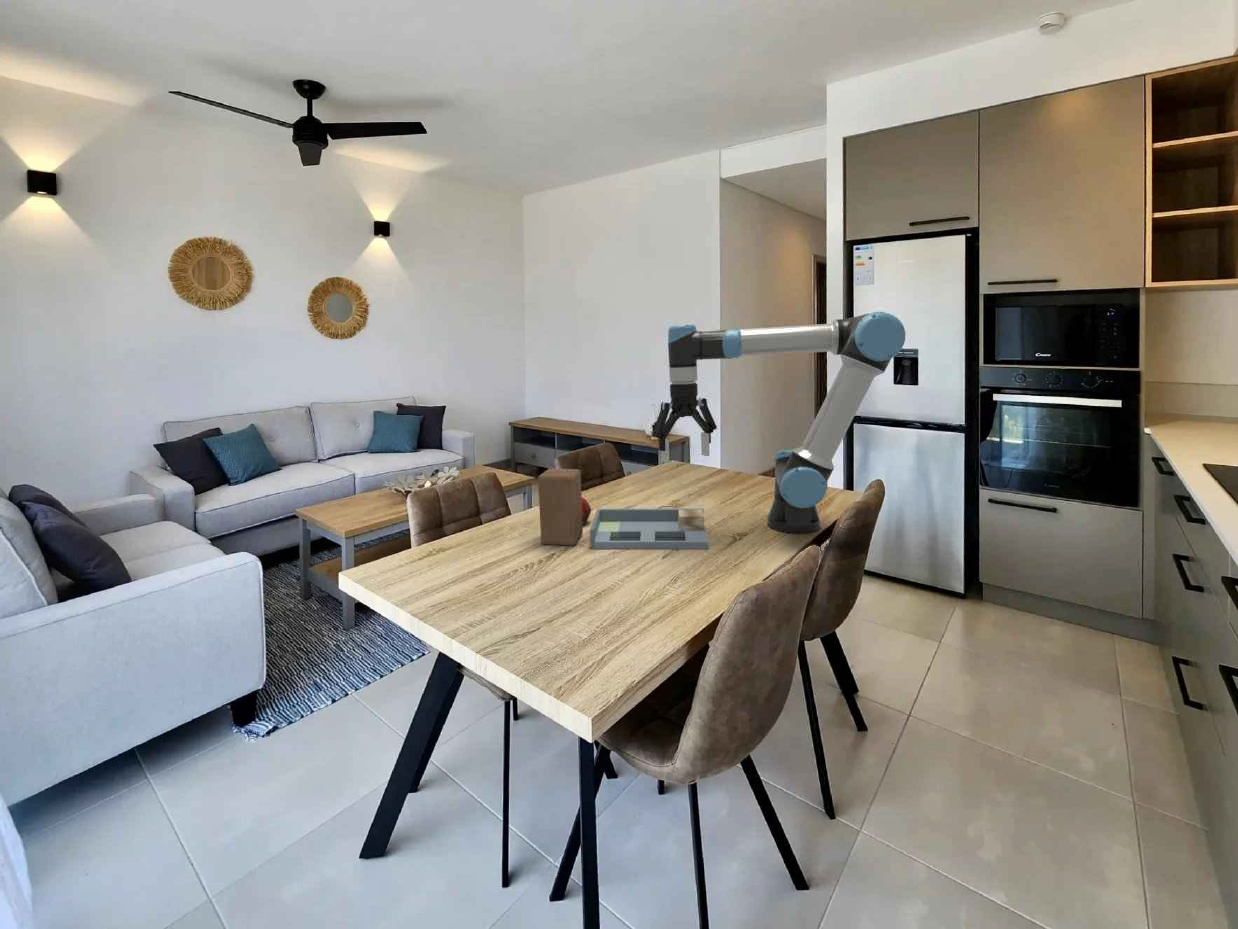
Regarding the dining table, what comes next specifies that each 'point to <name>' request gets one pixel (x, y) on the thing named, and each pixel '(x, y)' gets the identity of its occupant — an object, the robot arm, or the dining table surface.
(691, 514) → the beech block
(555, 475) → the wooden block
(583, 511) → the fruit
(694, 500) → the dining table surface
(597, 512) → the board
